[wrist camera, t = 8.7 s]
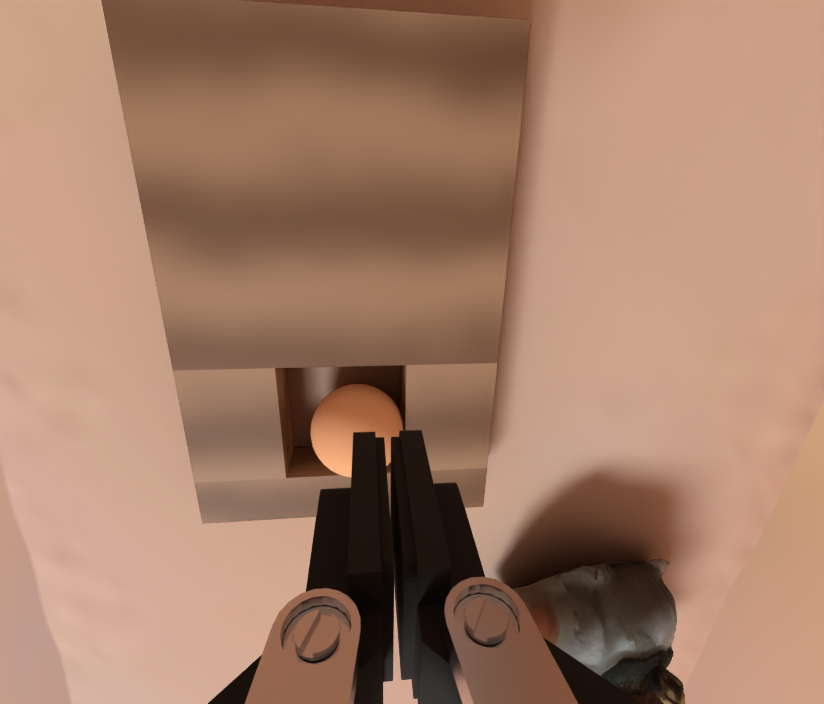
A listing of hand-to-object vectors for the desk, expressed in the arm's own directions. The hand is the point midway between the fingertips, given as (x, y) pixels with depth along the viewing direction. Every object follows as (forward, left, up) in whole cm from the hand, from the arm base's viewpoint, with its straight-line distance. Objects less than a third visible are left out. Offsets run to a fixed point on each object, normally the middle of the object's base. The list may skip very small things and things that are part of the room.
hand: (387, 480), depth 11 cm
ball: (+6, -1, -12) cm, 13 cm away
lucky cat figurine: (+23, +15, -14) cm, 31 cm away
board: (-1, -2, -14) cm, 14 cm away
